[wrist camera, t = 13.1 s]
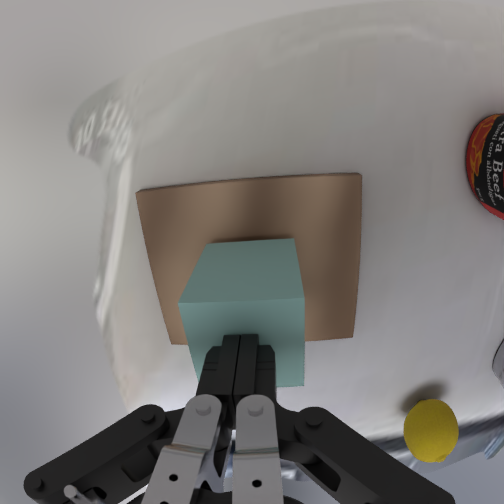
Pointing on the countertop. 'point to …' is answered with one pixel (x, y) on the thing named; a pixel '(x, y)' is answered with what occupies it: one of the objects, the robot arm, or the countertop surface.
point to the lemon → (431, 430)
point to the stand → (261, 238)
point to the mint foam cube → (248, 302)
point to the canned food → (488, 163)
